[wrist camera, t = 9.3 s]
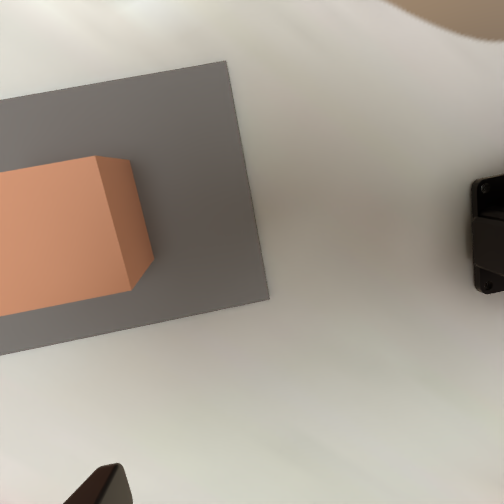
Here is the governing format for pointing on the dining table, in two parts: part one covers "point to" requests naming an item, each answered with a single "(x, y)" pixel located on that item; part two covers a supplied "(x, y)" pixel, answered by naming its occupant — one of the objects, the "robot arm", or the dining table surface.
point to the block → (70, 233)
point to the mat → (148, 195)
